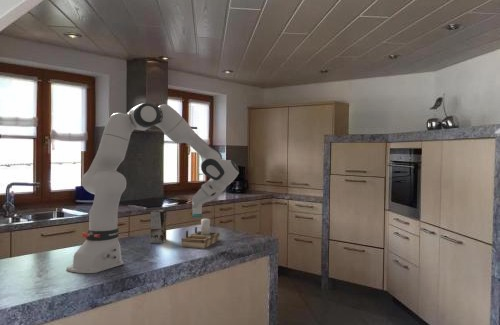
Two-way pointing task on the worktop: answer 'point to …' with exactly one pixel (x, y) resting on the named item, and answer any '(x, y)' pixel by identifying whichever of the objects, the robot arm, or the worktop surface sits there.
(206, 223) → the sleeve
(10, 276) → the worktop surface
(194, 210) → the white rounded cylinder
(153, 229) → the coffee box
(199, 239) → the wooden compartment tray
